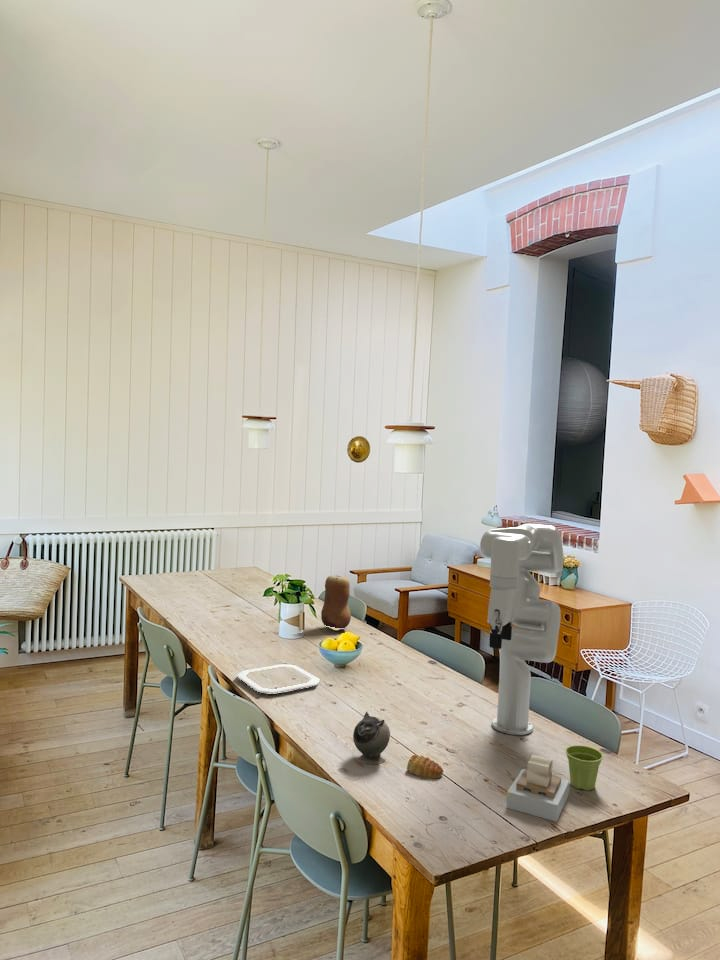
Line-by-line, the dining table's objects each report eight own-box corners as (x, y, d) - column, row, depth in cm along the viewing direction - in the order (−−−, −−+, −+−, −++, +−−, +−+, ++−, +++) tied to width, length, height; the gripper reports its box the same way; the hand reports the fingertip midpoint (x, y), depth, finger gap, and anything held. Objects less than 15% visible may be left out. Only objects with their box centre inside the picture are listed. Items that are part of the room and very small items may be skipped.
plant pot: (580, 796, 180) (582, 763, 179) (556, 779, 188) (558, 747, 188) (609, 790, 184) (611, 758, 183) (584, 774, 192) (586, 743, 192)
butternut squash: (353, 627, 330) (356, 574, 328) (345, 635, 317) (347, 579, 315) (325, 624, 334) (327, 571, 332) (316, 631, 321) (318, 576, 319)
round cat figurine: (345, 761, 194) (379, 770, 189) (346, 718, 194) (380, 726, 189) (363, 748, 203) (396, 756, 198) (364, 706, 203) (396, 714, 198)
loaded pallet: (525, 774, 182) (526, 749, 182) (560, 783, 178) (562, 758, 178) (516, 788, 174) (517, 763, 174) (553, 798, 170) (554, 772, 170)
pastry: (446, 772, 190) (447, 758, 190) (436, 783, 184) (437, 769, 184) (414, 763, 195) (415, 750, 195) (404, 773, 189) (404, 759, 189)
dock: (521, 783, 185) (522, 768, 185) (568, 796, 180) (569, 780, 180) (506, 807, 173) (507, 791, 173) (556, 821, 167) (557, 805, 167)
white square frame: (325, 688, 250) (325, 681, 250) (262, 700, 236) (262, 694, 236) (291, 667, 271) (291, 662, 271) (231, 678, 257) (231, 672, 256)
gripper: (499, 575, 204) (496, 634, 205) (480, 585, 189) (477, 649, 190) (525, 578, 201) (522, 638, 202) (508, 589, 185) (505, 653, 186)
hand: (500, 643), depth 196 cm, fingers open, 9 cm apart
